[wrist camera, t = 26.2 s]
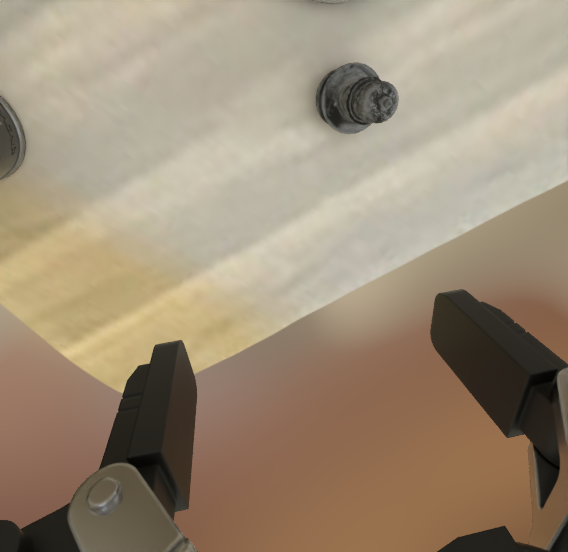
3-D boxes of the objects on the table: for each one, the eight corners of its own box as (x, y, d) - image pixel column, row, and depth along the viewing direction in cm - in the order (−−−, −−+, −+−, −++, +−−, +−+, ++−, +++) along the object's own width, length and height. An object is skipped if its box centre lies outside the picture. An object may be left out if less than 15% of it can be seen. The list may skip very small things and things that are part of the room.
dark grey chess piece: (378, 77, 34) (444, 73, 24) (355, 137, 37) (406, 157, 26) (325, 55, 33) (370, 40, 22) (305, 119, 35) (337, 133, 25)
